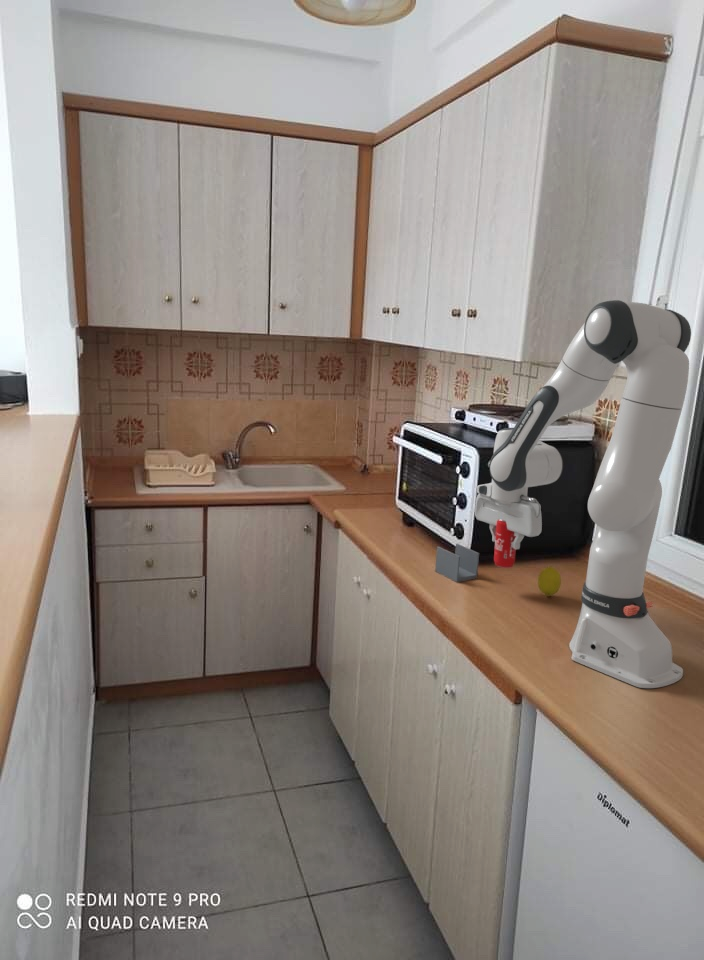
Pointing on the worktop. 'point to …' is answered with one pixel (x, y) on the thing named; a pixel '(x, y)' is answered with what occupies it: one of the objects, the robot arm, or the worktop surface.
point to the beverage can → (504, 546)
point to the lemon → (549, 581)
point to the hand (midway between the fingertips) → (505, 545)
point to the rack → (457, 563)
